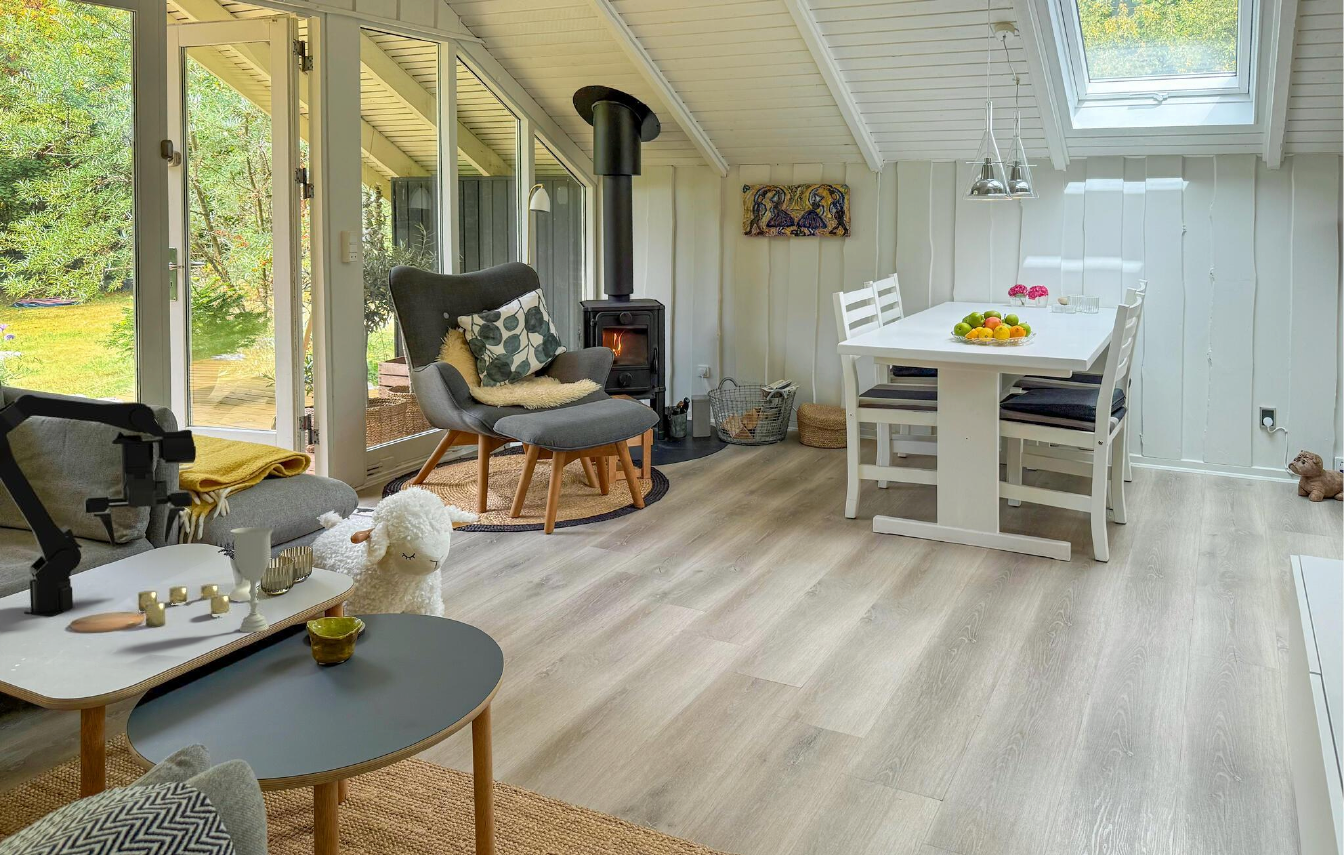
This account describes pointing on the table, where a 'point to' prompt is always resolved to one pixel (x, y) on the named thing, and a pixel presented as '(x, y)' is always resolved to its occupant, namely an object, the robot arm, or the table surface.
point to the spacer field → (178, 595)
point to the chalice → (252, 568)
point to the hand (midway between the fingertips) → (139, 544)
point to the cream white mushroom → (241, 591)
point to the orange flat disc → (107, 622)
